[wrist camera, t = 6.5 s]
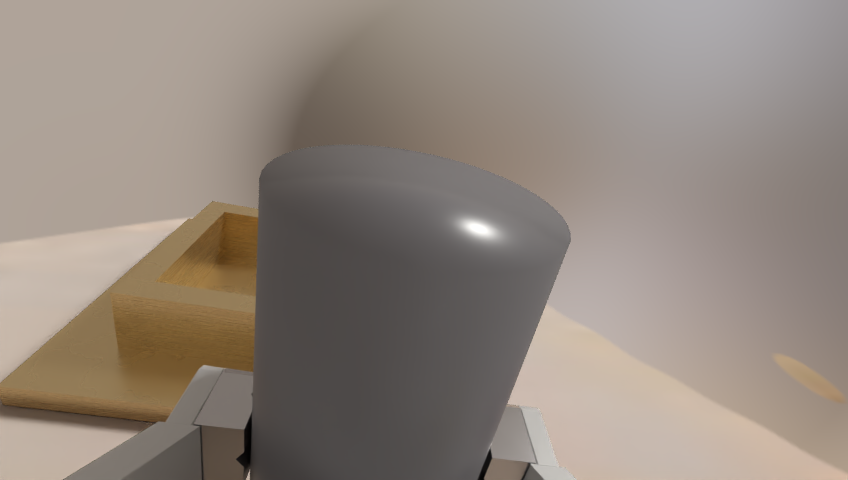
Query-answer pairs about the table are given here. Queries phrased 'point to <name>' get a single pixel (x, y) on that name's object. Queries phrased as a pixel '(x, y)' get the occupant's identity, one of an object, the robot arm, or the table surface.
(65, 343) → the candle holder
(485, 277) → the grey cylinder
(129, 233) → the table surface
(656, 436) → the table surface
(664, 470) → the table surface
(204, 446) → the robot arm
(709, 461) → the table surface
